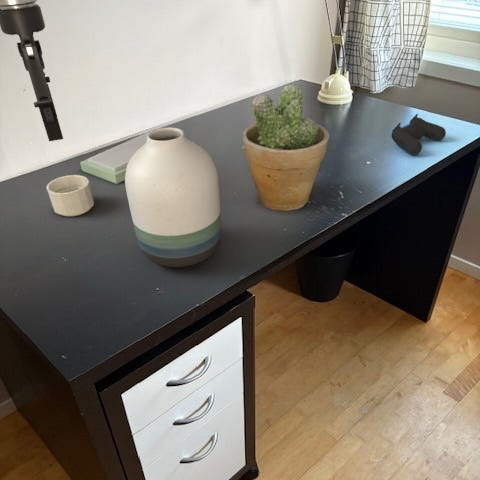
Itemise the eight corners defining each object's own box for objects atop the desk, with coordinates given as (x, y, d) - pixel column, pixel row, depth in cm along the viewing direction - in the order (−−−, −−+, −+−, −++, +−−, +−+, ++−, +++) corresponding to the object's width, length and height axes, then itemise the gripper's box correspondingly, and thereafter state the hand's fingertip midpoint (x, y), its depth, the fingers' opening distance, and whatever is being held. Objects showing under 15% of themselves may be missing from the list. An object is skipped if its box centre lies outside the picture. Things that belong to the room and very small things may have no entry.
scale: (82, 170, 128) (79, 159, 126) (151, 139, 143) (149, 128, 141) (116, 184, 121) (114, 172, 119) (185, 149, 136) (184, 138, 134)
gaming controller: (436, 146, 137) (413, 121, 138) (451, 131, 132) (426, 105, 133) (406, 165, 129) (382, 138, 130) (420, 150, 124) (394, 122, 125)
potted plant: (259, 177, 121) (258, 70, 104) (331, 187, 116) (342, 76, 99) (233, 212, 109) (227, 97, 92) (312, 224, 103) (321, 104, 86)
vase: (135, 237, 102) (111, 123, 86) (212, 224, 105) (202, 111, 89) (146, 283, 90) (120, 161, 74) (232, 266, 93) (225, 145, 77)
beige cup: (46, 210, 113) (38, 186, 109) (78, 194, 118) (71, 171, 114) (70, 221, 108) (63, 197, 104) (102, 204, 113) (96, 181, 109)
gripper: (43, 14, 75) (79, 146, 90) (35, -7, 93) (66, 106, 107) (-7, 20, 74) (37, 153, 88) (-6, -3, 91) (31, 112, 105)
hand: (53, 128), depth 97 cm, fingers open, 13 cm apart
